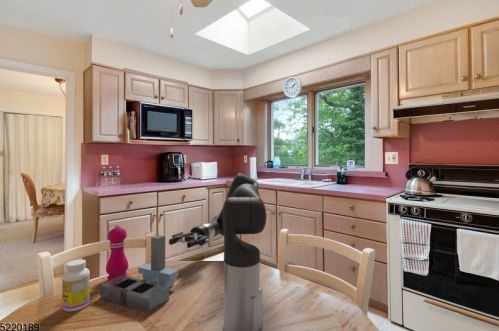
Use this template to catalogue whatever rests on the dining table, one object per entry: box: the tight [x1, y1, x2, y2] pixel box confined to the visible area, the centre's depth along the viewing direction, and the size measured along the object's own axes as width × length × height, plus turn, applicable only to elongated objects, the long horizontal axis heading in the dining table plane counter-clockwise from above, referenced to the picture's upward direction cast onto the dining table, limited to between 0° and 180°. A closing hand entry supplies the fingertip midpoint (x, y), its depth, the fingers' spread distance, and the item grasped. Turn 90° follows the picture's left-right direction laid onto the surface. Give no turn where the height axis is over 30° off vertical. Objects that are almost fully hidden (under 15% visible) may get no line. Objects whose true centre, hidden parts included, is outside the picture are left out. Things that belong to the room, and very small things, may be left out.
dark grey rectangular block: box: [99, 275, 170, 314], centre depth 80 cm, size 20×8×4 cm, turn 66°
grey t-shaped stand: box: [137, 234, 179, 289], centre depth 89 cm, size 14×4×16 cm, turn 66°
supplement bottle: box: [61, 259, 91, 312], centre depth 75 cm, size 7×7×13 cm
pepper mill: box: [105, 223, 129, 282], centre depth 92 cm, size 7×7×20 cm
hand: (178, 243), depth 99 cm, fingers open, 8 cm apart
